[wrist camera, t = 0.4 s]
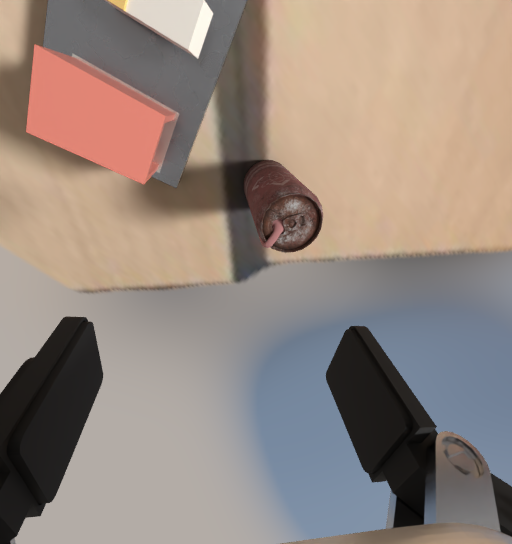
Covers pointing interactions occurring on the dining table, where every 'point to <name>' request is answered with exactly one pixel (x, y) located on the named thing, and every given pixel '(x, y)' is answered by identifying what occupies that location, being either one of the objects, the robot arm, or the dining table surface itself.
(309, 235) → the can
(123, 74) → the panel
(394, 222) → the dining table surface
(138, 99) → the cap
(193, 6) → the block
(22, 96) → the dining table surface
